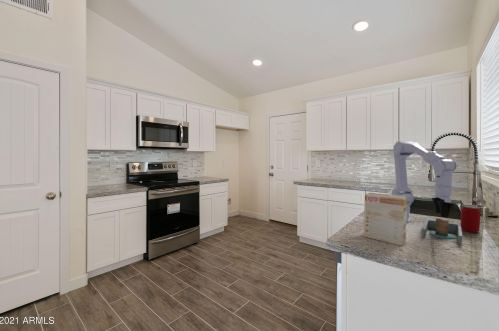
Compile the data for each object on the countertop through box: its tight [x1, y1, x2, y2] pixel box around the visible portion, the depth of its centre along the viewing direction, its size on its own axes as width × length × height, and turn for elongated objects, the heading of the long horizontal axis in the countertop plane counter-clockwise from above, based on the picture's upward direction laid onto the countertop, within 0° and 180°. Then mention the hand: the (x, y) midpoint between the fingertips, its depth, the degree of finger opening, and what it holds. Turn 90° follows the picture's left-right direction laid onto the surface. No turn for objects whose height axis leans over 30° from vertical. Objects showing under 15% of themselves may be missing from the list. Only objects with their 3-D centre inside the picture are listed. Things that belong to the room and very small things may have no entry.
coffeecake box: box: [363, 192, 407, 247], centre depth 101 cm, size 15×7×20 cm, turn 45°
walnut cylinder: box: [435, 217, 450, 236], centre depth 106 cm, size 4×4×7 cm
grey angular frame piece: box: [421, 218, 463, 246], centre depth 106 cm, size 20×13×4 cm, turn 139°
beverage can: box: [460, 204, 482, 234], centre depth 112 cm, size 7×7×12 cm
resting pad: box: [429, 230, 456, 240], centre depth 106 cm, size 9×9×1 cm
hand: (441, 215), depth 106 cm, fingers open, 7 cm apart
